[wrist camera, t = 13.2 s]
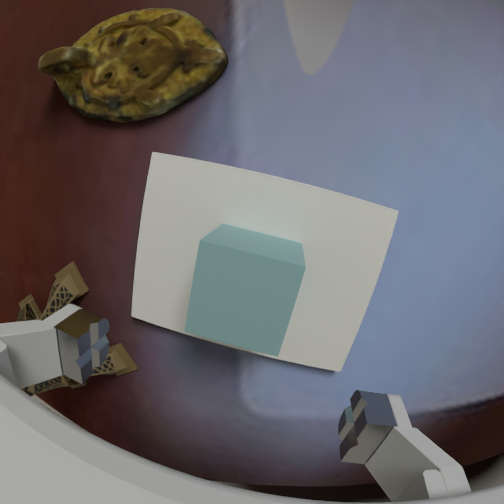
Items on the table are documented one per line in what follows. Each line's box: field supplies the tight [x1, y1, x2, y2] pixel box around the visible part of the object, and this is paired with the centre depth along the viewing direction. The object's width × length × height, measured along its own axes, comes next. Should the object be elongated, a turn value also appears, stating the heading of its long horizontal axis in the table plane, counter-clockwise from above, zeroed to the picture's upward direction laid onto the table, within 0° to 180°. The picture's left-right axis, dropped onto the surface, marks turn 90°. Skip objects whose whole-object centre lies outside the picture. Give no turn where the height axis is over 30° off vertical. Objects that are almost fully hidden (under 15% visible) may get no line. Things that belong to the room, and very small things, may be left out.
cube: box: [185, 224, 306, 357], centre depth 17 cm, size 5×5×5 cm
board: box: [131, 152, 399, 372], centre depth 20 cm, size 16×12×1 cm
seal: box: [38, 8, 228, 123], centre depth 16 cm, size 9×5×15 cm
